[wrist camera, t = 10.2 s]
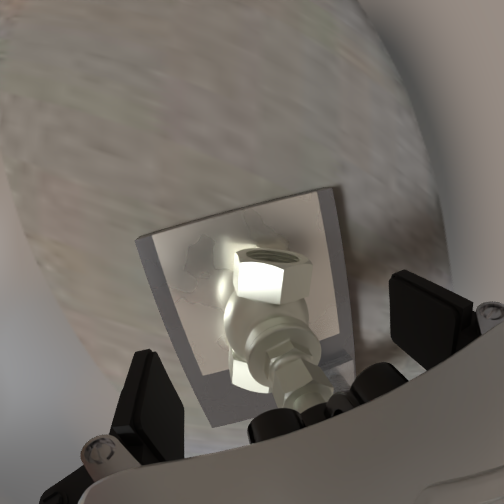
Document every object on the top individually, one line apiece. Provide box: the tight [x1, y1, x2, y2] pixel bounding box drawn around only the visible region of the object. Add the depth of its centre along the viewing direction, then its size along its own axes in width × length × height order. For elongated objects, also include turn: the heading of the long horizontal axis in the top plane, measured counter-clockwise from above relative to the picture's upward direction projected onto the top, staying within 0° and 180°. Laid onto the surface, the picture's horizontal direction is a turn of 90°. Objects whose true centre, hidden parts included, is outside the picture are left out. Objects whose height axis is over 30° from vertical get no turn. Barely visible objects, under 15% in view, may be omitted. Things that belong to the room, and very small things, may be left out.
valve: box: [224, 248, 408, 444], centre depth 10 cm, size 7×7×12 cm
